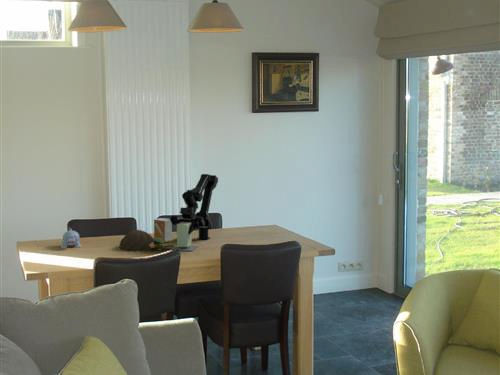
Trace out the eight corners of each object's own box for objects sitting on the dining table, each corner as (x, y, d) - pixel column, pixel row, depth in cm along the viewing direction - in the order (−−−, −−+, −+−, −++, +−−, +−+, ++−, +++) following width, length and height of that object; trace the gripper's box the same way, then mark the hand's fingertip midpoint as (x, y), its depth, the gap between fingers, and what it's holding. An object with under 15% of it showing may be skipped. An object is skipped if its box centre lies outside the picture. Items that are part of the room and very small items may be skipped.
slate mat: (176, 246, 403) (176, 244, 403) (197, 247, 401) (197, 245, 401) (170, 250, 392) (170, 249, 391) (191, 251, 389) (191, 250, 389)
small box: (153, 242, 414) (153, 219, 412) (161, 240, 419) (161, 217, 417) (164, 243, 409) (164, 220, 408) (172, 241, 415) (171, 219, 413)
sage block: (181, 244, 400) (181, 222, 398) (191, 244, 398) (191, 223, 396) (176, 246, 394) (176, 224, 393) (187, 247, 392) (187, 225, 391)
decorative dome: (114, 246, 403) (114, 228, 402) (149, 243, 412) (149, 225, 411) (124, 252, 386) (124, 234, 385) (160, 249, 395) (160, 231, 393)
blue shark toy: (61, 250, 391) (60, 232, 389) (60, 244, 405) (59, 227, 404) (81, 249, 394) (81, 231, 392) (80, 243, 408) (79, 226, 407)
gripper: (171, 200, 400) (162, 224, 391) (202, 202, 394) (195, 226, 385) (176, 212, 408) (168, 235, 399) (208, 214, 402) (200, 238, 393)
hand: (183, 233), depth 394 cm, fingers open, 6 cm apart
